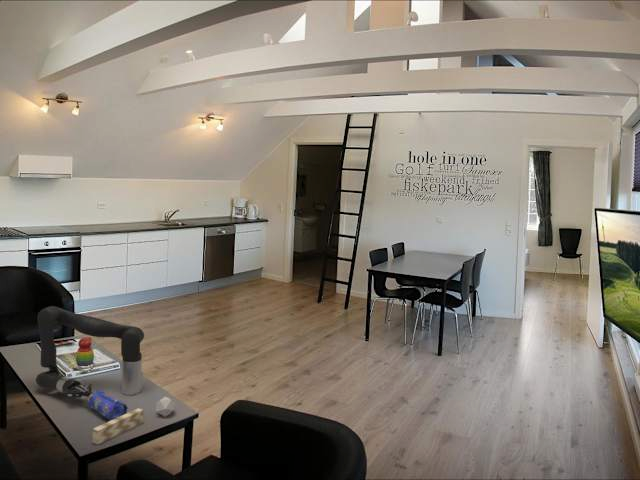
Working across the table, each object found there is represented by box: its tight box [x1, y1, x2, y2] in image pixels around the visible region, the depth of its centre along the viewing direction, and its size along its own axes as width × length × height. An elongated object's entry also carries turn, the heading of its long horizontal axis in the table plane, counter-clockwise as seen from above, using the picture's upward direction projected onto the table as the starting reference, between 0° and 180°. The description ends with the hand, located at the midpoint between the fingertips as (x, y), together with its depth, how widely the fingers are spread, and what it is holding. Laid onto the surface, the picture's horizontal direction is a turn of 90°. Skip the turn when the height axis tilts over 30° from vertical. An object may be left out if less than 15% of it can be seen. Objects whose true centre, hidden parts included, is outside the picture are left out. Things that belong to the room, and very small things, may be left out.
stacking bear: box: [75, 336, 95, 366], centre depth 289 cm, size 11×10×18 cm
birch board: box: [92, 407, 144, 445], centre depth 223 cm, size 24×3×6 cm, turn 151°
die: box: [155, 396, 175, 418], centre depth 241 cm, size 8×9×10 cm
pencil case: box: [86, 390, 129, 421], centre depth 237 cm, size 22×9×10 cm, turn 52°
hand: (92, 395), depth 242 cm, fingers closed
